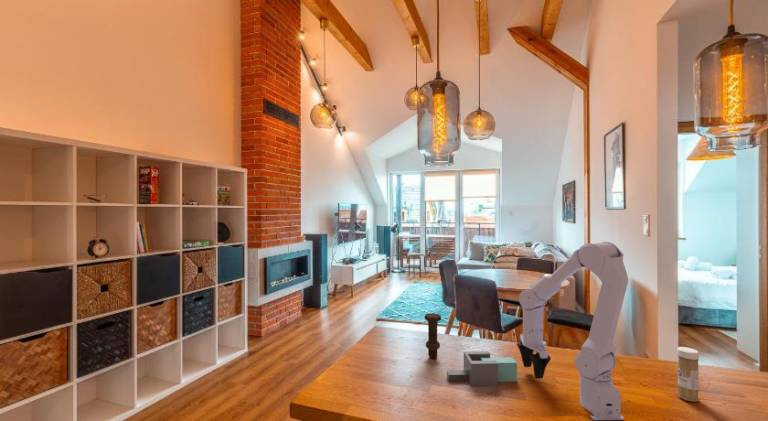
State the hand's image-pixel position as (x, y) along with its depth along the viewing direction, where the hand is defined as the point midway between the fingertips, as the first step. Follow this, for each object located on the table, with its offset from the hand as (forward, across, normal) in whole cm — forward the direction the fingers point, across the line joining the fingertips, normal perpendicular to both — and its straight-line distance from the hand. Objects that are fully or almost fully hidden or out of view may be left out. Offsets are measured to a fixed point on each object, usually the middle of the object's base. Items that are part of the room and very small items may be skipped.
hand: (532, 372), depth 109 cm
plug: (+2, 0, +11) cm, 11 cm away
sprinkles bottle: (+2, -13, -37) cm, 40 cm away
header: (+2, 0, +16) cm, 17 cm away
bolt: (+2, +16, +28) cm, 33 cm away
